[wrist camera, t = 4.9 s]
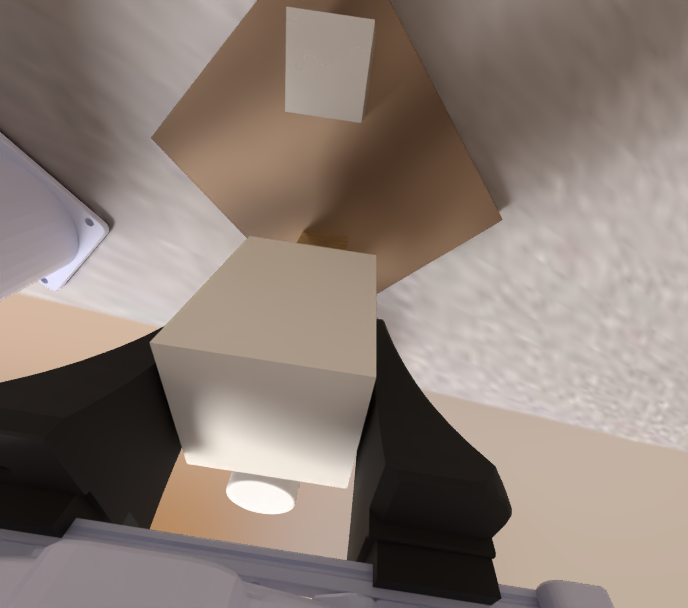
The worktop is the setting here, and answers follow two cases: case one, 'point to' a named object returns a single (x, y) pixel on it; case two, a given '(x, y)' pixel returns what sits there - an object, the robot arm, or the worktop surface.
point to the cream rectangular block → (274, 362)
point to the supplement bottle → (262, 492)
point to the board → (330, 148)
